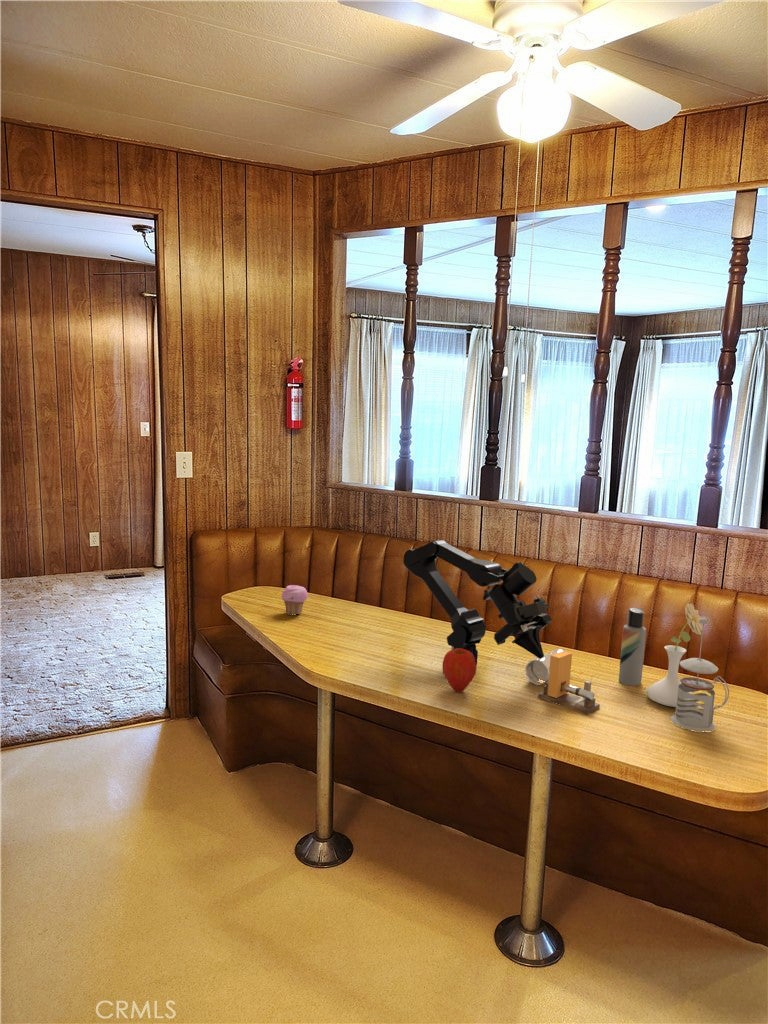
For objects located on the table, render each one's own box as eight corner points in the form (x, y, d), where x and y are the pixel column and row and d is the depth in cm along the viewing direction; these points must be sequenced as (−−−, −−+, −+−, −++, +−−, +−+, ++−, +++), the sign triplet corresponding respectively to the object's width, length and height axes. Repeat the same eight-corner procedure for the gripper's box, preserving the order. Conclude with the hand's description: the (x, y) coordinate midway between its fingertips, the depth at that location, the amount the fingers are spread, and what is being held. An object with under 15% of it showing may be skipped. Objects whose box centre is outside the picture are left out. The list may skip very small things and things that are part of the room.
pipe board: (538, 697, 170) (539, 677, 169) (554, 689, 175) (556, 670, 175) (587, 714, 160) (588, 694, 160) (603, 706, 166) (604, 686, 165)
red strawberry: (437, 684, 175) (440, 643, 174) (470, 684, 176) (473, 643, 175) (444, 697, 167) (446, 654, 166) (478, 697, 168) (481, 654, 166)
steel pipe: (545, 686, 170) (545, 678, 170) (549, 684, 172) (549, 677, 172) (590, 701, 162) (591, 693, 162) (594, 699, 163) (594, 691, 163)
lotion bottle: (634, 678, 186) (640, 606, 184) (645, 686, 181) (652, 612, 178) (614, 678, 185) (621, 606, 183) (625, 686, 180) (632, 612, 177)
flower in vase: (671, 714, 163) (682, 612, 160) (635, 696, 173) (644, 599, 170) (710, 707, 169) (721, 607, 165) (672, 690, 179) (682, 596, 176)
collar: (547, 694, 168) (550, 655, 166) (560, 689, 172) (563, 650, 171) (556, 698, 166) (559, 658, 165) (568, 692, 170) (572, 653, 169)
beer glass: (546, 668, 192) (523, 681, 180) (549, 644, 191) (526, 655, 179) (570, 675, 188) (548, 689, 176) (573, 650, 187) (551, 663, 175)
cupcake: (282, 610, 238) (283, 581, 236) (307, 610, 238) (308, 582, 237) (280, 617, 229) (280, 587, 228) (306, 618, 229) (307, 588, 228)
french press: (679, 710, 165) (689, 609, 162) (730, 726, 157) (742, 620, 154) (663, 722, 158) (673, 616, 155) (716, 739, 150) (728, 628, 147)
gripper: (507, 593, 167) (543, 648, 160) (548, 583, 180) (583, 634, 174) (479, 617, 173) (512, 671, 167) (520, 606, 186) (553, 656, 180)
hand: (542, 657), depth 172 cm, fingers closed
